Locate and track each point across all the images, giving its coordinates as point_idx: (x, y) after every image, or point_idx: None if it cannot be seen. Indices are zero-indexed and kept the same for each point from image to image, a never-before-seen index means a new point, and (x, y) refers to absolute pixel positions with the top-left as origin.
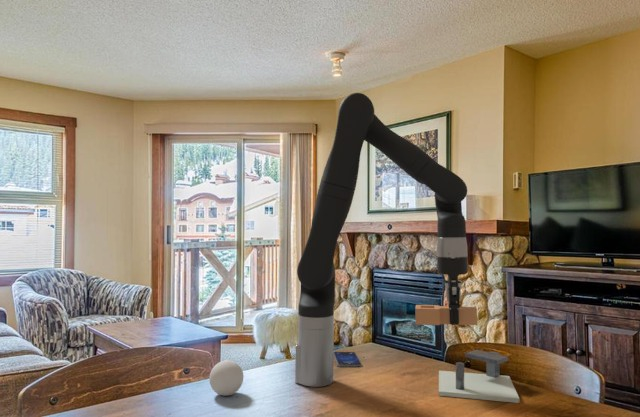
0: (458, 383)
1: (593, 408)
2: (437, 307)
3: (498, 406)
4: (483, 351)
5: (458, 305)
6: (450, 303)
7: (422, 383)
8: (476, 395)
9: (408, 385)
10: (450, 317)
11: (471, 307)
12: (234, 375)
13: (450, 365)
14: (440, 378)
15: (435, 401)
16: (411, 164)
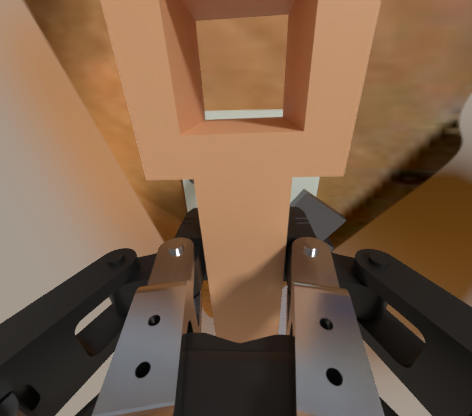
0: None
1: (208, 303)
2: (224, 162)
3: (166, 211)
4: (329, 233)
5: (110, 309)
6: (77, 283)
7: (246, 65)
8: (183, 184)
9: (219, 22)
10: (197, 216)
11: (259, 333)
12: None
13: (409, 137)
14: (264, 114)
15: None
16: None
